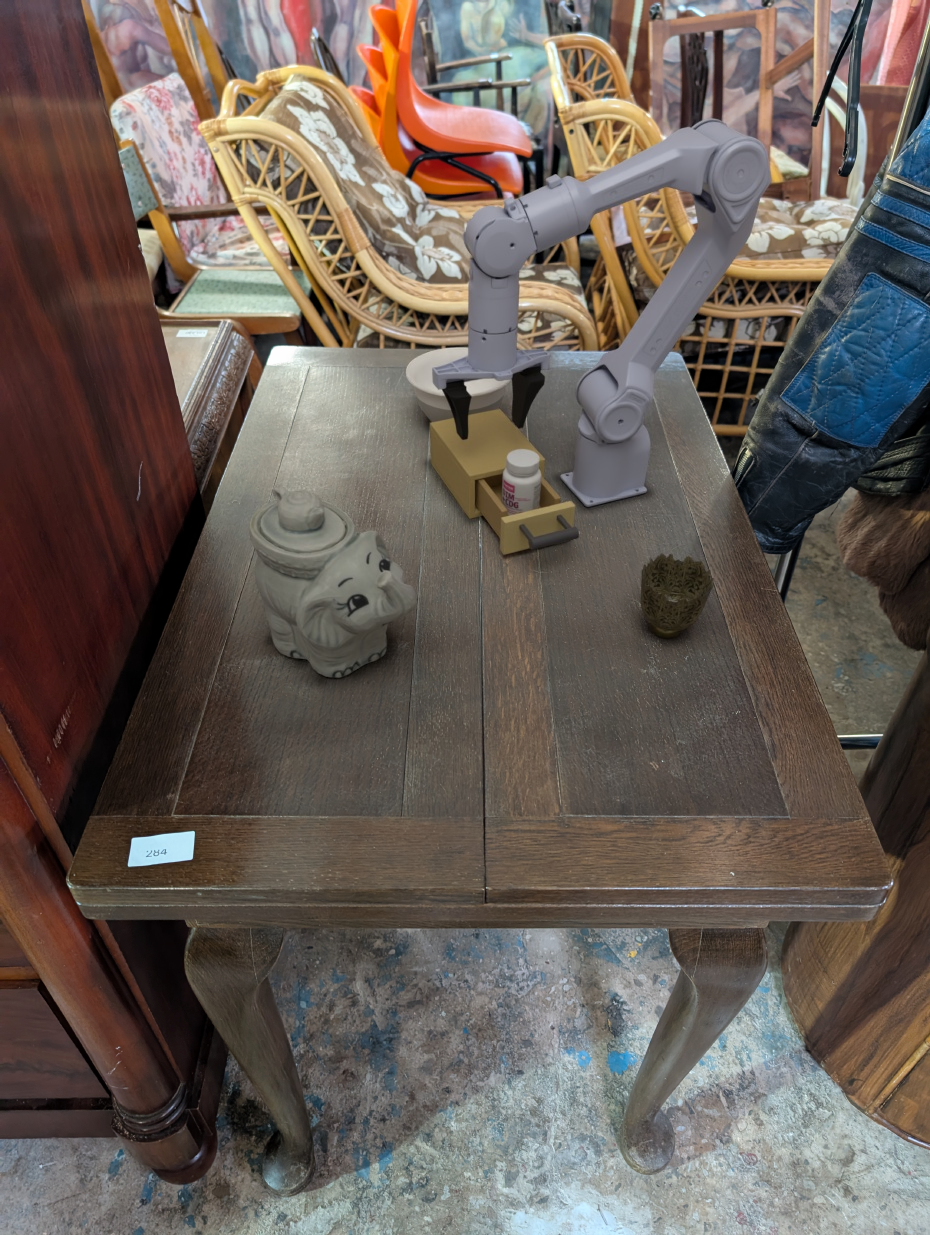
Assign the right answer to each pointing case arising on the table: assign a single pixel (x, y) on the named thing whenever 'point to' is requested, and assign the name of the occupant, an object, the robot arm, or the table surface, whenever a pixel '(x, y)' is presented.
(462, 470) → the cabinet
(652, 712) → the table surface
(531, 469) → the pill bottle
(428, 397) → the bowl
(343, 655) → the grey elephant cookie jar
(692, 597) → the cup
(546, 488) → the drawer
